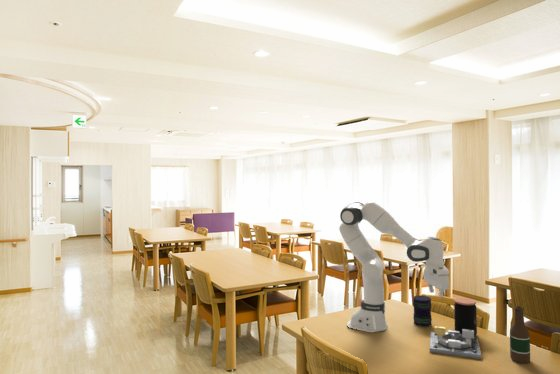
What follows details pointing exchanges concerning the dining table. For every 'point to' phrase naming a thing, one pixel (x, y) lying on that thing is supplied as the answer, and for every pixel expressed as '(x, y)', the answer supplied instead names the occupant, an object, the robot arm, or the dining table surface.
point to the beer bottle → (519, 338)
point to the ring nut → (465, 336)
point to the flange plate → (465, 352)
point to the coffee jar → (465, 315)
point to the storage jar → (422, 311)
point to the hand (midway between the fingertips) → (436, 294)
